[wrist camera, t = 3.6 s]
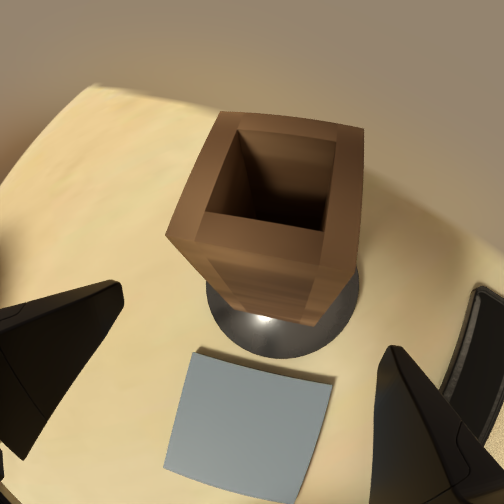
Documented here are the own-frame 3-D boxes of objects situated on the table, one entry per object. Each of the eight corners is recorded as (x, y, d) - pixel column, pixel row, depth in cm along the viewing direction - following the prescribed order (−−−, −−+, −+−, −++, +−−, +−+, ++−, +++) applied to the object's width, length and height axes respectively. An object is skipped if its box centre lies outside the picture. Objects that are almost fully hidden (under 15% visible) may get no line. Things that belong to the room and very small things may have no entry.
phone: (409, 456, 14) (477, 281, 18) (403, 452, 15) (470, 285, 19) (471, 471, 11) (527, 314, 15) (464, 468, 13) (520, 317, 17)
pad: (293, 501, 14) (293, 504, 14) (166, 465, 16) (163, 467, 16) (331, 384, 17) (332, 385, 17) (195, 352, 19) (192, 352, 19)
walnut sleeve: (313, 326, 18) (355, 272, 7) (234, 309, 19) (164, 235, 8) (327, 251, 20) (364, 128, 9) (253, 237, 21) (220, 111, 10)
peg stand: (340, 371, 18) (353, 374, 14) (192, 337, 20) (171, 331, 16) (362, 231, 21) (376, 205, 18) (231, 207, 24) (222, 179, 20)
